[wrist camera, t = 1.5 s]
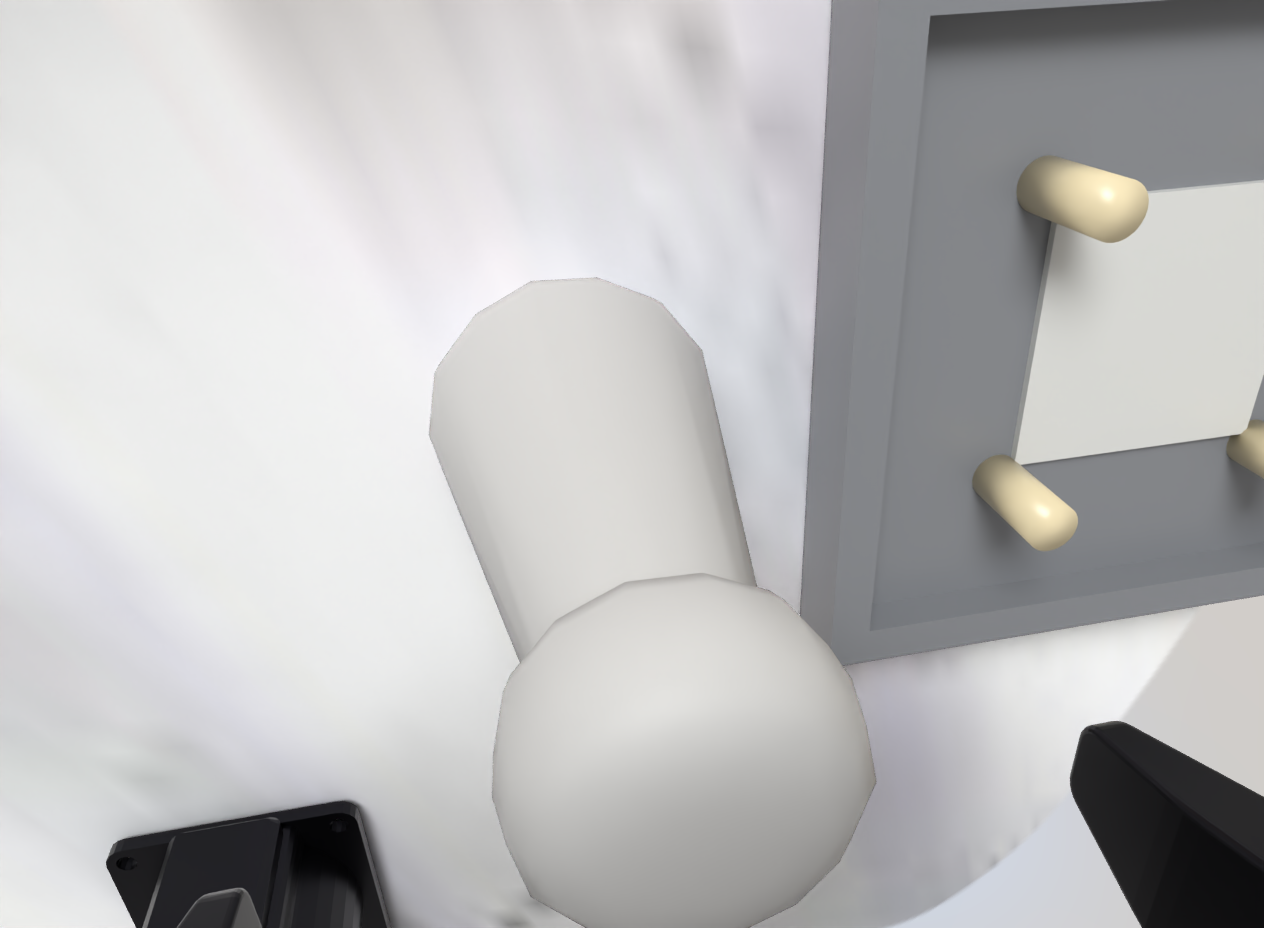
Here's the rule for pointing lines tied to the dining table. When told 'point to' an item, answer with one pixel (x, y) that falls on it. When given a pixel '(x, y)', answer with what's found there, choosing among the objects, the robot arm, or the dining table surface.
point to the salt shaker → (638, 626)
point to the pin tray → (1035, 319)
